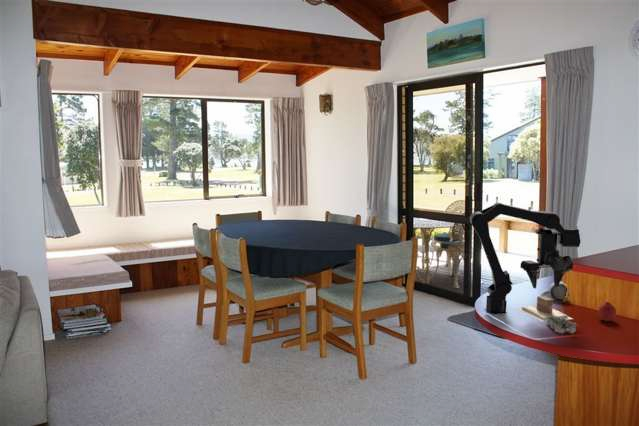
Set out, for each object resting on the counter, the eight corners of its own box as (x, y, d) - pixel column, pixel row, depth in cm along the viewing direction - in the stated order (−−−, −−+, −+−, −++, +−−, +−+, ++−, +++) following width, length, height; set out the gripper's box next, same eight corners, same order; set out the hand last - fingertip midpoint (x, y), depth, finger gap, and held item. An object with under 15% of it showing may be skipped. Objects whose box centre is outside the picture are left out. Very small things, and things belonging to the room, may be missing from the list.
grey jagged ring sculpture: (577, 336, 185) (578, 324, 184) (554, 335, 185) (555, 323, 185) (566, 325, 195) (566, 314, 195) (544, 324, 196) (544, 313, 195)
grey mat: (542, 323, 197) (542, 321, 197) (516, 309, 212) (516, 308, 212) (573, 320, 200) (573, 319, 200) (545, 307, 215) (545, 306, 215)
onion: (614, 320, 200) (615, 299, 199) (616, 325, 195) (618, 303, 194) (596, 318, 202) (597, 297, 201) (598, 323, 197) (600, 301, 196)
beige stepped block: (543, 320, 198) (544, 303, 198) (521, 309, 211) (522, 294, 210) (567, 318, 201) (568, 302, 200) (544, 307, 213) (545, 292, 213)
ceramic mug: (567, 297, 229) (568, 279, 228) (569, 303, 222) (570, 284, 221) (539, 295, 233) (540, 277, 232) (541, 301, 225) (542, 282, 224)
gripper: (539, 251, 193) (537, 295, 195) (585, 249, 197) (582, 292, 199) (520, 245, 203) (518, 286, 205) (564, 243, 208) (561, 284, 210)
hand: (545, 287), depth 205 cm, fingers open, 9 cm apart
